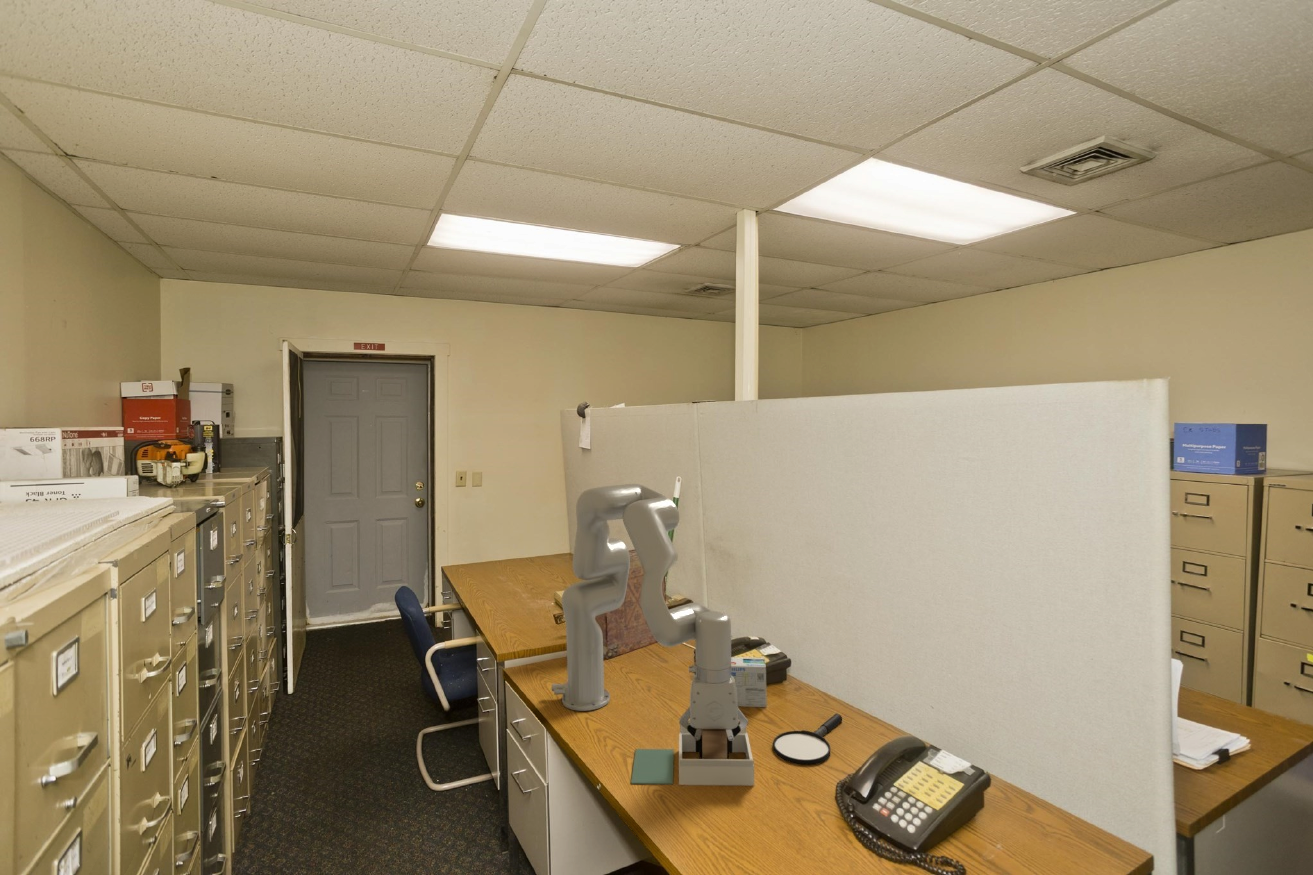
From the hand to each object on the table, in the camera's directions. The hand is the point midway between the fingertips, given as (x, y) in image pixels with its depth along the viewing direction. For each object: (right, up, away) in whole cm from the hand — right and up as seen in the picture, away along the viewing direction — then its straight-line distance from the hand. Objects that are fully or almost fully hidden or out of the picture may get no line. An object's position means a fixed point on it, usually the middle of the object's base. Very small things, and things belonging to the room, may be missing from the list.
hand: (713, 754), depth 135 cm
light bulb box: (+11, -2, +30) cm, 32 cm away
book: (-21, -1, +72) cm, 75 cm away
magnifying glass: (+24, -3, +11) cm, 26 cm away
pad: (-13, -3, 0) cm, 13 cm away
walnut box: (0, -2, 0) cm, 3 cm away
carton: (0, -3, 0) cm, 3 cm away
